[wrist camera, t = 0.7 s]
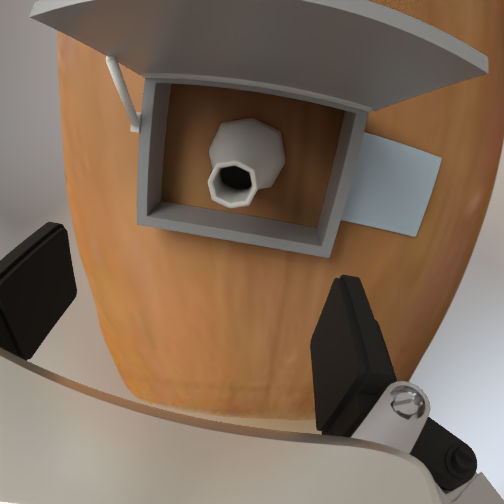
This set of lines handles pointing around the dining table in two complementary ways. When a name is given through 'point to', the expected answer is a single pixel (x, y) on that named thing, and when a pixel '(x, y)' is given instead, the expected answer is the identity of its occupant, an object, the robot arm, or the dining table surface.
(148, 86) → the case
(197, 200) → the dining table surface
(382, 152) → the mat
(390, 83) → the lid and stay
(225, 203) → the flask
